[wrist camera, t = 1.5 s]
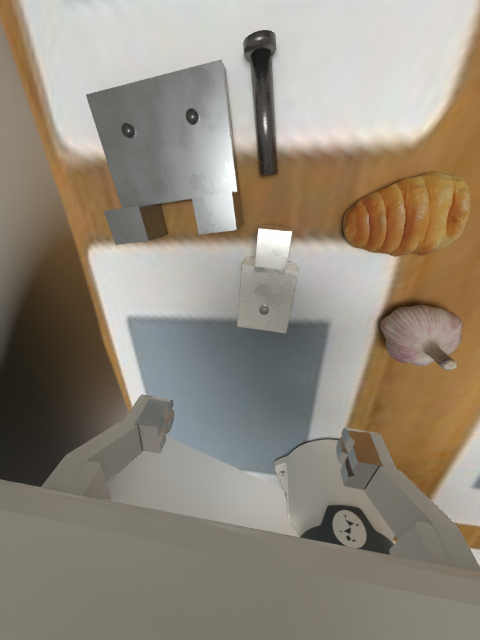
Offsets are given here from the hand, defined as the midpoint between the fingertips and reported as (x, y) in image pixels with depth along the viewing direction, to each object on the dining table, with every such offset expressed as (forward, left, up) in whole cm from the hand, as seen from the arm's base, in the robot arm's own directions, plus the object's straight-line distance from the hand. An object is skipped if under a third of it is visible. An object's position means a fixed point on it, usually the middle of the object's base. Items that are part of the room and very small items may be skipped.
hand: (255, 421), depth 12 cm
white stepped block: (+1, 0, -19) cm, 19 cm away
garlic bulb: (-6, -16, -19) cm, 26 cm away
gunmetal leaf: (+13, +8, -19) cm, 24 cm away
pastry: (+6, -13, -19) cm, 24 cm away
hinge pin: (+15, -1, -19) cm, 24 cm away
